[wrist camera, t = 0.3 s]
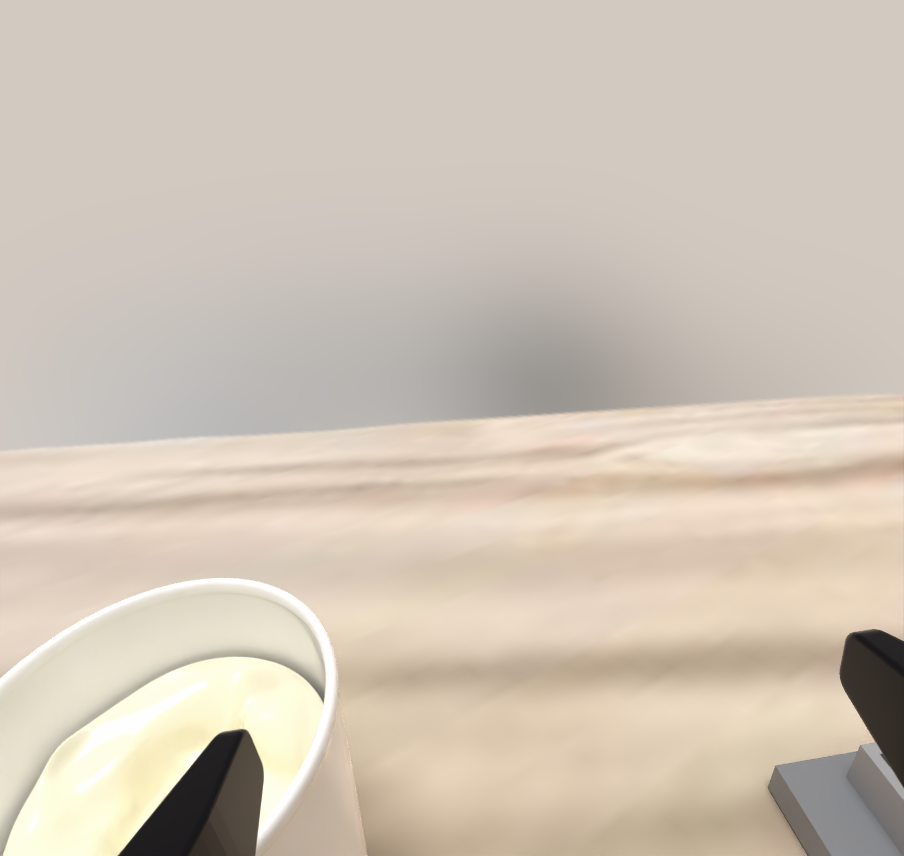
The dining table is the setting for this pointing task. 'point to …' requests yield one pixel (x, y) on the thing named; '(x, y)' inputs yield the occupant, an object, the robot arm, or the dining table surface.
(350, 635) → the dining table surface
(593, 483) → the dining table surface
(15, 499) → the dining table surface
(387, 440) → the dining table surface
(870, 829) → the button board
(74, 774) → the candle holder
